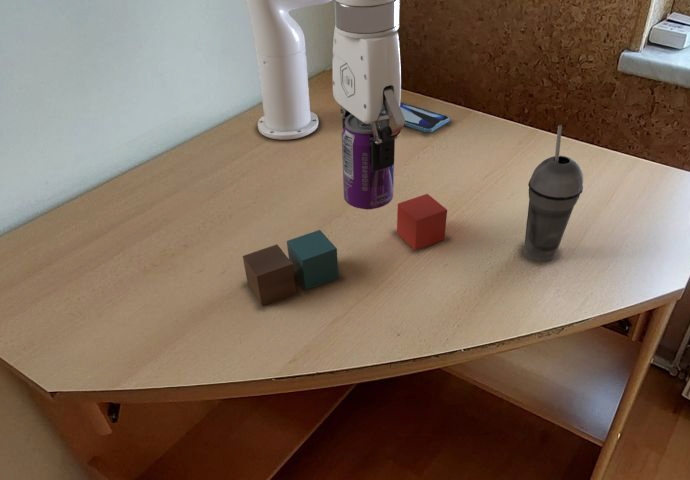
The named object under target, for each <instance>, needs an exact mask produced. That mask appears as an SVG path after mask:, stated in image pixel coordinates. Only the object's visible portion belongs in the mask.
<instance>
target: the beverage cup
mask: <svg viewBox="0 0 690 480" xmlns="http://www.w3.org/2000/svg"><path fill="white" fill-rule="evenodd" d="M562 131H563V126H562V125H561V124H559V125H558V126H557V132H556V142H555V152H554V156H550V157H548V158H546V159H544V160H542V161H541V162H540V163H539V164H538V165H537V166H536V167H535V169H534V170H533V172H532V174H531V177H530V178H529V181H528V184H527V185H528V198H529V199H528V207H527V208H528V209H527V216H526V217H527V218H526V227H525V235H524V251H523V252H524V255H525V256H526V258H528V259H529V260H531V261H533V262H538V263H546V262H550V261H552V260H553V259H554V258H555V256H556V254H557V251H558V250H559V247H560V245H561V242H562V239H563V237H564V234H565V231H566V228H567V226H568V224H569V220H570V218H571V216H572V212H573V210H574V208H575V205H576V204H577V203H578V200H579V199H580V196H581V194H582V193H583V190H584V174H583V171H582V169H581V167H580V165H579V164H578V163H577V162H576V161H575V160H574V159H572V158H571V157H568V156H565V155H560V151H561V141H562Z"/></svg>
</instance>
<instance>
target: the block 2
mask: <svg viewBox="0 0 690 480" xmlns="http://www.w3.org/2000/svg"><path fill="white" fill-rule="evenodd" d="M286 246H287V254H288V256H287V257H288V259H289V260H290V261H291V263H292V264H293V272H294V278H295V279H296V280H297V281H298V283H299V284H300V285H301V286H302V288H303V289H304V290H305V291H308V290H310V289H313V288H316V287H318V286H321V285H324V284H327V283H330V282H332V281H335V280H338V279H339V263H338V247H336V246H335V245H334V243H333V242H332V241H331V240H330V239H329V238H328V237H327V235H325V234H324V233H323V231H322V230H321V229H317V230H315V231H311V232H309V233H306V234H303V235H300V236H297V237H294V238H291V239H288V240H286Z"/></svg>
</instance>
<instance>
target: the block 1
mask: <svg viewBox="0 0 690 480" xmlns="http://www.w3.org/2000/svg"><path fill="white" fill-rule="evenodd" d="M242 260H243V266H244V271H245V276H246V281H247V286H248V287H249V289H250V291H251V293H253V295H254V297H255V298H256V299H257V301H258V303H259V304H260V305H261V306H262V307H264V306H266V305H269V304H272V303H275V302H276V301H279V300H282V299H285V298H288V297H291V296H293V295H296V294H297V289H296V283H295V282H296V281H295V276H294V272H293V264H292V263H291V261H290V260H289V256H287V255H286V254H285V252H284V251H283V249H282V248H281V247H280V246H279V244H274V245H271V246H268V247H265V248H261V249H259V250H256V251H253V252H250V253H247V254H244V255H242Z"/></svg>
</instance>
